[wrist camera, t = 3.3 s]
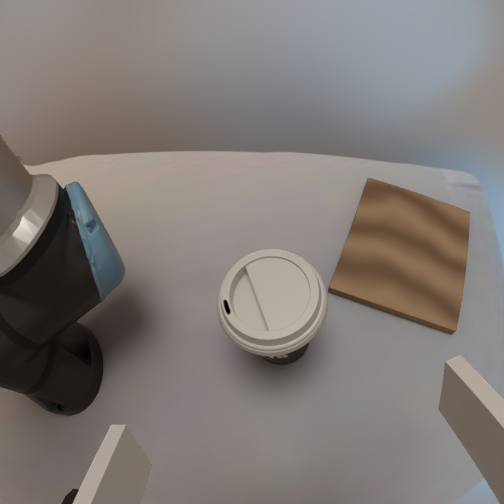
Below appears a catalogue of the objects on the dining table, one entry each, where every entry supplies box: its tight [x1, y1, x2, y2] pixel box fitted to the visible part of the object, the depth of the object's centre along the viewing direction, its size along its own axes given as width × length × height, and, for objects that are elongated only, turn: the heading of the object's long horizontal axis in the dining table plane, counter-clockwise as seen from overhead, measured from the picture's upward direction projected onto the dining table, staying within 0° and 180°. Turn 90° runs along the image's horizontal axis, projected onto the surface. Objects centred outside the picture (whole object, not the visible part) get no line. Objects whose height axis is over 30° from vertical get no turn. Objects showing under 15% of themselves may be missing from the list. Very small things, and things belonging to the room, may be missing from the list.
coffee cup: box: [217, 249, 328, 365], centre depth 31 cm, size 10×10×15 cm
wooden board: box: [328, 178, 470, 334], centre depth 40 cm, size 20×18×2 cm
